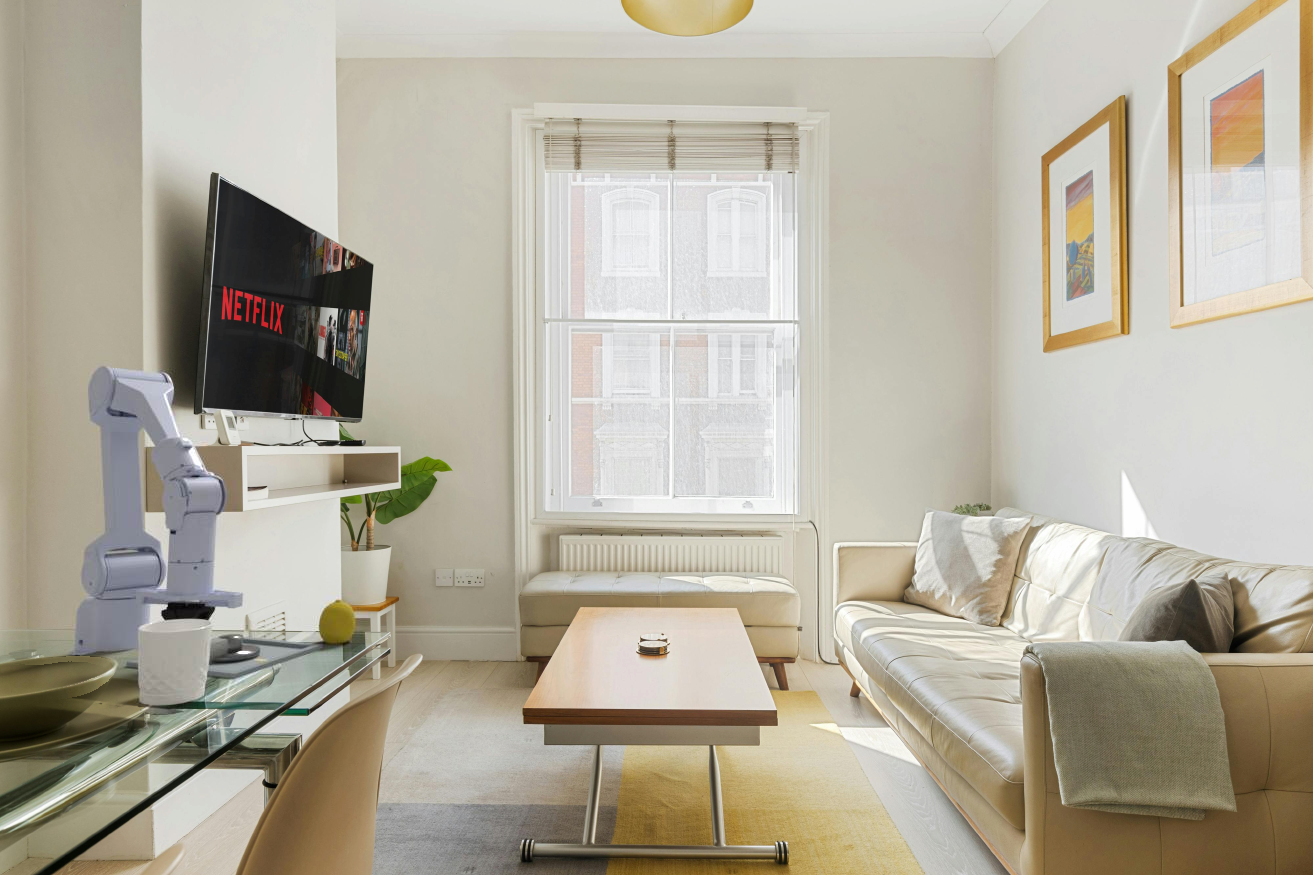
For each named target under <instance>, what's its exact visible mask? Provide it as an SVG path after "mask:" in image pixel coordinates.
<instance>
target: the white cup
mask: <svg viewBox="0 0 1313 875" xmlns="http://www.w3.org/2000/svg"><path fill="white" fill-rule="evenodd" d="M213 626H214V622H213V621H211V620H202V619H175V620H159V621H153V622H150V623H148V624H144V625H142V626H140V627H139V628H138V648H137V659H138V668H137V671H138V680H137V681H138V682H137V683H138V684H137V685H138V688H139V692H138V693H139V695H138V696H139V697H138V698H139V700H138V701H139V703H141V704H143V705H147V704H148V706H150V707H151V706H171V705H178V704H185V703H188V702H193V701H195V700H199V698H202V697H204V695H205V688H206V682H207V680H208V676H207V672H208V666H209V657H210V647H211V639H212V635H213V634H212V633H213ZM184 712H185V711H184V710H176V709H167V708H159V707H151V708H150V710H149V713H150V714H149V715H154V714H157V715H171V714H178V713H179V714H180V713H184Z"/></svg>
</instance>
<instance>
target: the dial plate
mask: <svg viewBox="0 0 1313 875" xmlns="http://www.w3.org/2000/svg"><path fill="white" fill-rule="evenodd" d="M217 638H218V637H214V638H211V640H213V639H217ZM243 644H245V645H255V646H258V647H260V654H259V655H258V656H256V657H254V658H250V659H246V660H241V661H233V662H215V663H212V664H209V666H208V672H207V677H215V678H216V677H218V678H225V679H238V678H241V677H243V676H246V675H249V674H253V673H255V672H259V671H261V670H265V669H267V668H270V667H273V666H276V665H280V664H281V663H285V662H287V661H291V660H293V659H296V658H299V657H302V656H305V655H308V654H310V653H314V652H317V651H319V650H322V649H323V644H320V643H319V644H317V643H310V642H309V643H308V642H300V641H299V642H298V641H297V642H296V641H288V640H276V639H269V638H268V639H266V638H257V637H246V636H243ZM125 665H126V667H129V668H135V669H138V658H136V659H131V660H128V661H126V664H125Z"/></svg>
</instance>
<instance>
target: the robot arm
mask: <svg viewBox="0 0 1313 875" xmlns="http://www.w3.org/2000/svg"><path fill="white" fill-rule="evenodd" d="M174 393H175V388H174V383H173V380H172V379H171V377H170V375H169V374H168V373H166V372H161V371H160V372H159V371H158V372H153V371H145V370H135V369H127V368H126V369H125V368H117V367H109V366H108V365H100V366H99V367H97V369H96V370H95V371H93V374H92V375H91V377H90V381H89V383H88V387H87V396H88V412H89V419H90V420H89V421H90V422H92V423H93V424H95V425H96V426H98V427H99V429H100V431H99V432H100V448H101V449H100V450H101V466H102V468H101V469H102V470H101V471H102V490H103V492H102V493H103V509H104V510H103V511H104V531H105V532H104V533H103V534H102V535H100V536H99V537H98V538H96V539H95V540H93V541H92V542H91V543H89V544H88V545H87V546H86V547H85V549H84V553H83V564H82V566H81V572H80V574H81V575H80V577H81V585H82V587H83V590H84V591H86V593H87V594H88V595H89V596H87V597H86V598H84V599H83V600H82V602H80V604H79V607H78V608H77V611H76V618H75V633H74V634H75V635H74V649H73V650H70V651H69V652H68V654H69V655H70V656H75V655H80V656H84V655H87V654H93V653H96V652H97V653H98V652H120V651H129V650H136V649H138V628H139V627H140V626H142V625H144V624H148V623H151V621H150V620H151V605H165V606H166V607H165V609H162V610H161V612H160V616H161V617H162V619H163V621H165V620H175V619H202V620H208V621H210V618H211V617H212V616H213V614H214V613H215V610H216V607H218V608H227V609H236V608H239V607H243V601H244V600H243V599H244V598H243V597H244V592H239V591H238V592H236V591H227V590H220V589H214V578H215V577H214V576H215V572H214V571H215V554H216V553H215V552H216V535H217V534H216V533H217V517H218V516H219V515H220V514H221V513H222V512H223V511H224V510H225V507H226V503H227V497H228V496H227V495H228V494H227V488H226V485H225V483H224V480H223V478H222V477H220V476H219V475H215V473H214V472H212V471H207V468H206V466H205V464H204V462H203V460H202V458H201V456H200V454H199V452H198V450H197V448H196V446H195V444H194V442H193V441H192V440H190V439H189V438H186V437H182V435H181V433H180V429H179V426H178V424H177V421H176V418H175V416H174V413H173V409H172V408H171V406H172V402H173V400H174V395H175V394H174ZM142 429H144V431H145V432H146V434H147V436H149V438H150V440H151V442H152V444H153V445H154V446H153V448H152V450H151V452H150V458H151V460H152V463H153V464H154V467H155V469H156V472H157V473H158V475H159V478H160V480H161V482H162V485H163V486H164V488H163V489H164V490H163V495H161V504H162V508H163V511H164V515H165V522H164V523H165V526H166V529H168V530H169V531H168V532H169V533H168V534H169V537H168V554H167V561H166V559H165V556H164V554H163V553H164V552H163V549H162V542H161V540H160V539H158V538H156V537H155V536H154V535H152V534H151V533H149V532H147V531H146V530H145V529H144V528H145V527H144V514H143V513H144V512H143V511H144V510H143V495H142V478H141V459H140V456H141V454H140V441H139V438H140V436H139V434H140V432H141V431H142ZM119 551H120V552H119ZM122 551H123V552H122ZM125 551H130V552H125ZM108 552H110V553H108ZM111 552H115V553H111ZM165 580H166V588H160V587H161V586H162V584H163V583H164V581H165Z"/></svg>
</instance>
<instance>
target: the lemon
mask: <svg viewBox="0 0 1313 875" xmlns="http://www.w3.org/2000/svg"><path fill="white" fill-rule="evenodd" d="M355 628H356V615H355V611H354V609H353V607H352V606H351V605H349V604H348V603H347V602H345V601H343V600H341V599H335V601H334V602H330V603H329V604H328V605H327V606H325V608H324V609H323V610H322V612H321V614H320V618H319V622H318V631H319V635H320V638H321V639H322V640H323V641H324V642H325V643H326V644H328V645H329V644H332V645H333V644H334V645H335V644H337V645H338V644H344V643H347V642H348V641H349V640H350V639H351V638H352V636H353V635H354V632H355V630H356V629H355Z"/></svg>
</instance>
